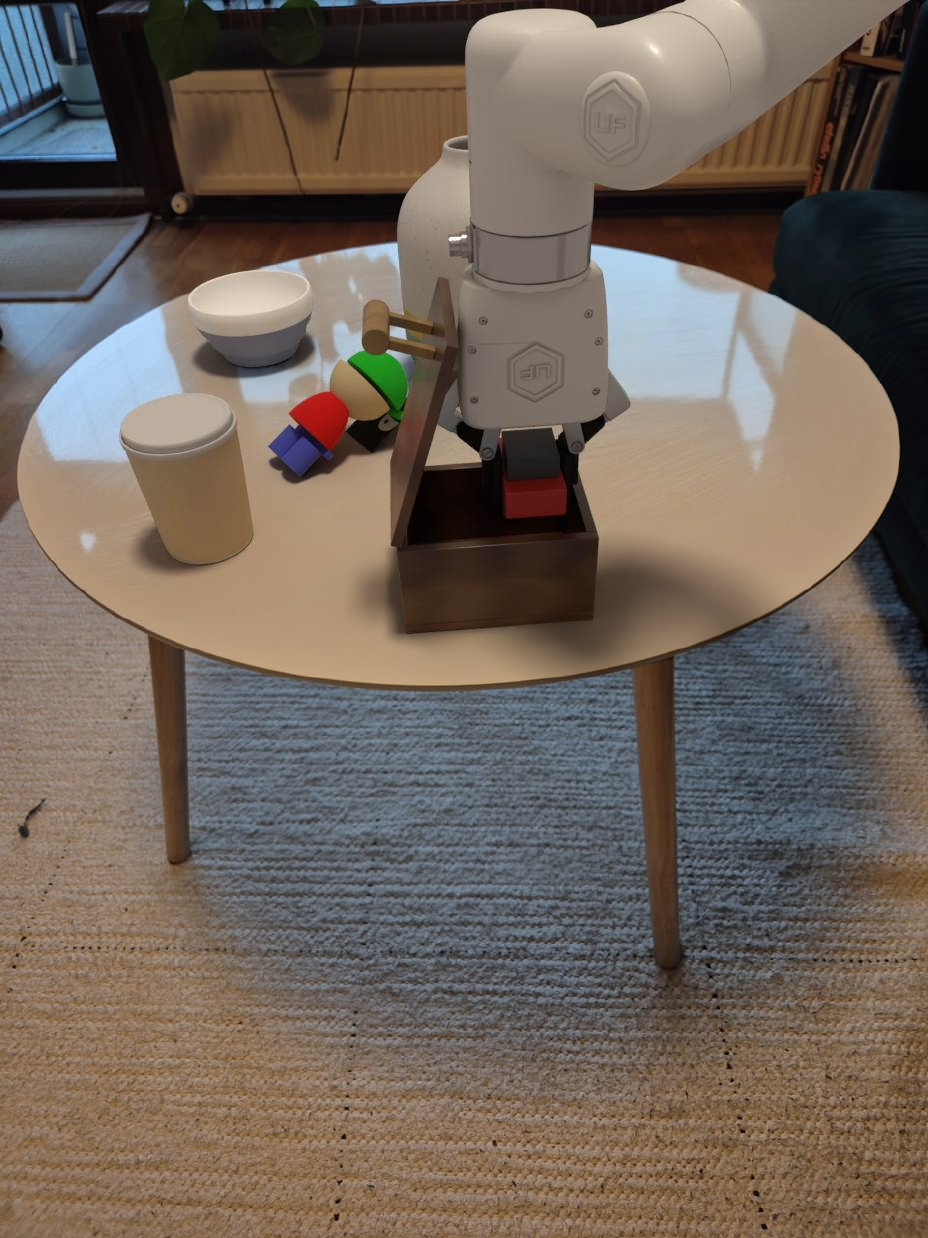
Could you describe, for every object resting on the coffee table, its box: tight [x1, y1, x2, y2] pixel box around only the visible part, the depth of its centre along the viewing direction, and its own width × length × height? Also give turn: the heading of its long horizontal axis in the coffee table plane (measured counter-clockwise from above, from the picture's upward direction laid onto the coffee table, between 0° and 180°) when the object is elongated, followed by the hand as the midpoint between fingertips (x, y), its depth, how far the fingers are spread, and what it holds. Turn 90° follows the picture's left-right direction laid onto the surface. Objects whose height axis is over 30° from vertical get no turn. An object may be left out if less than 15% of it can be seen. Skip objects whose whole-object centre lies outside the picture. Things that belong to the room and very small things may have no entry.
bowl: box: [187, 269, 315, 368], centre depth 106 cm, size 14×14×8 cm
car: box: [498, 427, 567, 519], centre depth 66 cm, size 8×5×5 cm, turn 4°
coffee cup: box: [118, 392, 254, 565], centre depth 75 cm, size 9×9×12 cm
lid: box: [361, 277, 459, 548], centre depth 62 cm, size 15×12×6 cm
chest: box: [396, 461, 600, 634], centre depth 71 cm, size 15×12×8 cm
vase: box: [396, 134, 472, 376], centre depth 94 cm, size 17×17×24 cm
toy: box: [267, 349, 409, 478], centre depth 88 cm, size 8×8×15 cm
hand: (529, 491), depth 68 cm, fingers closed on car, 4 cm apart
